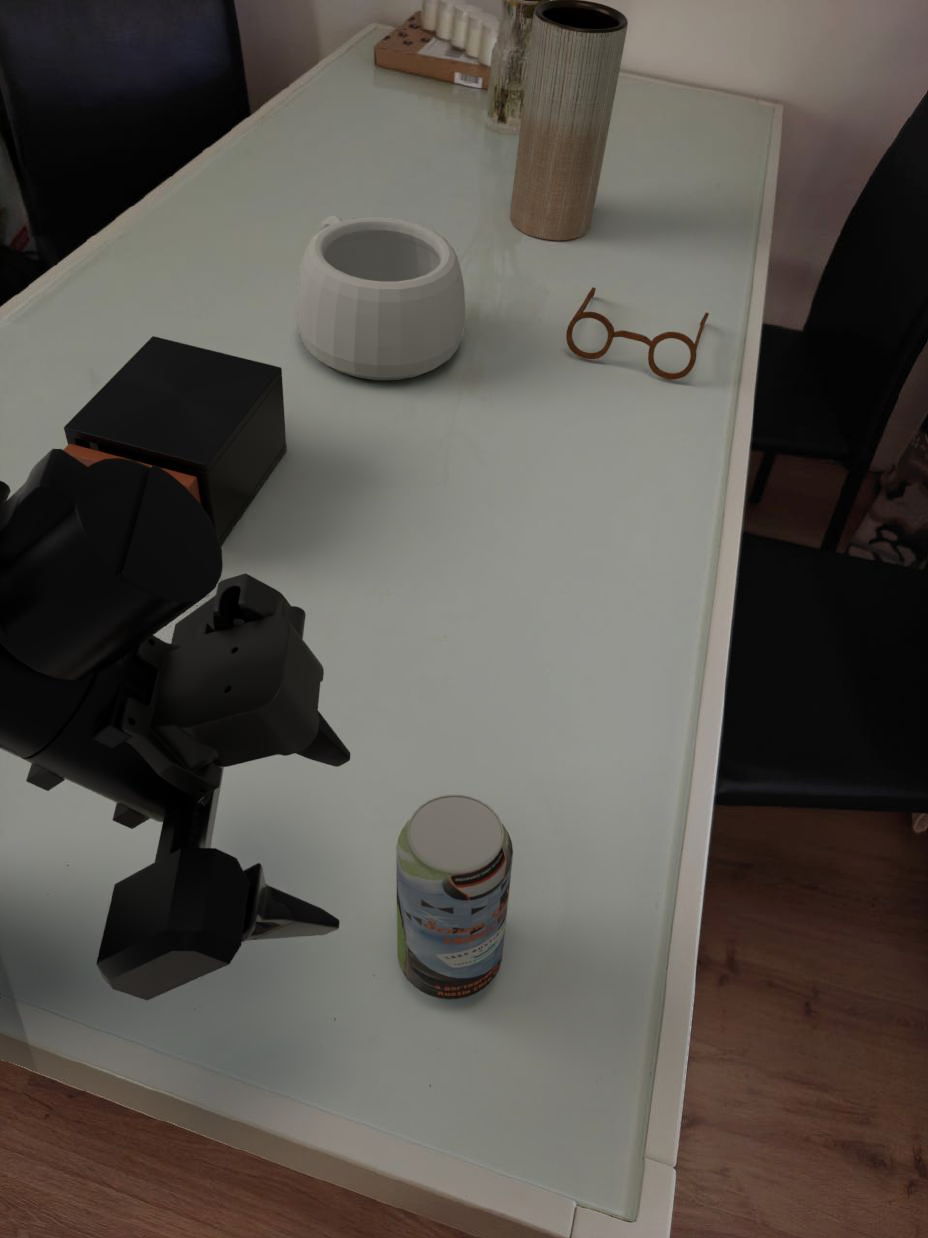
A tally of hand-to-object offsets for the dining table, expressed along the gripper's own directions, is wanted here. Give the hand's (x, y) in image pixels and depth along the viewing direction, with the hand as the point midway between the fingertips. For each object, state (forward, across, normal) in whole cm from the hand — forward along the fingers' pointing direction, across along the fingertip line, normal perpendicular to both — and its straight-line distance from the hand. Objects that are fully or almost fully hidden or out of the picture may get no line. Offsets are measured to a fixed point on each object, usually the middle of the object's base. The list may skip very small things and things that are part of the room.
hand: (339, 839), depth 49 cm
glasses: (+28, +67, -10) cm, 73 cm away
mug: (+8, +66, +10) cm, 67 cm away
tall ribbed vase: (+23, +92, -5) cm, 95 cm away
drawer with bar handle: (-4, +36, +20) cm, 41 cm away
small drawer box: (-2, +41, +19) cm, 45 cm away
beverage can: (+13, 0, +4) cm, 14 cm away
